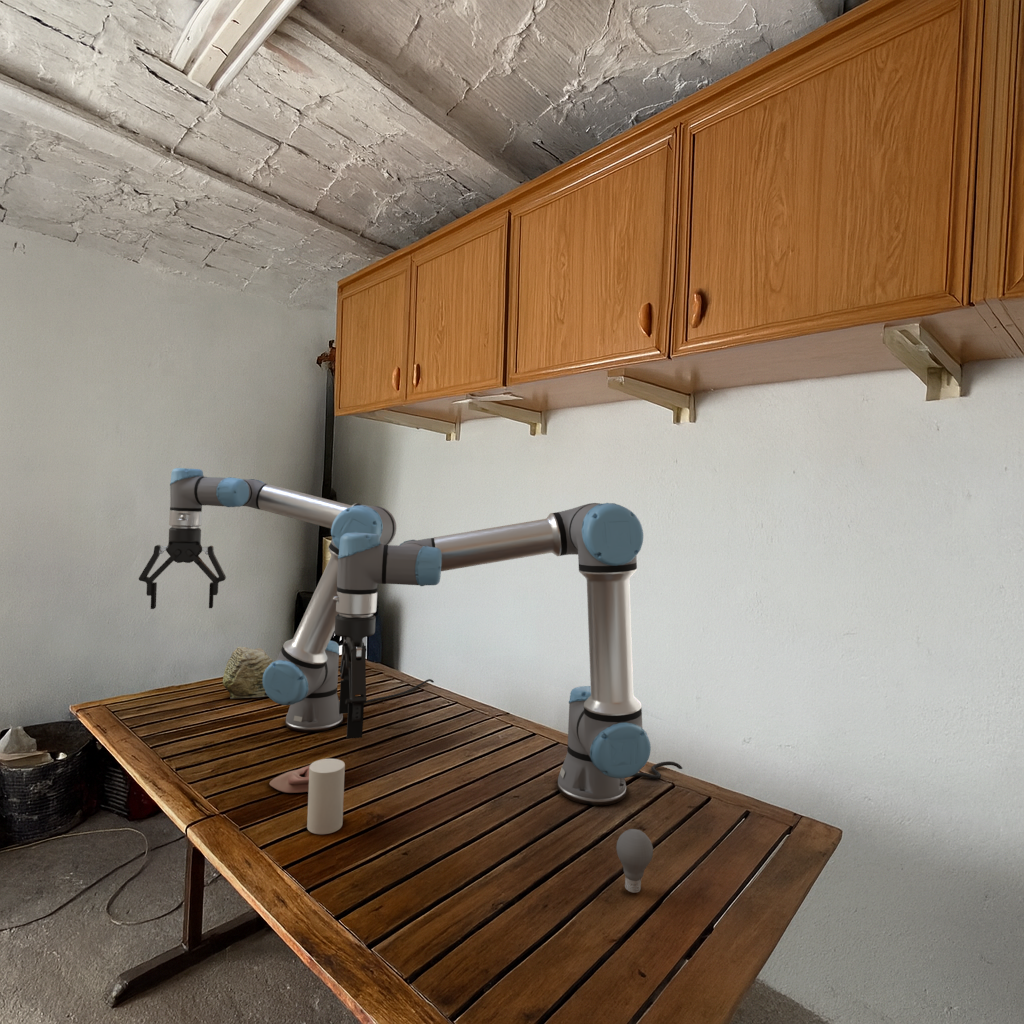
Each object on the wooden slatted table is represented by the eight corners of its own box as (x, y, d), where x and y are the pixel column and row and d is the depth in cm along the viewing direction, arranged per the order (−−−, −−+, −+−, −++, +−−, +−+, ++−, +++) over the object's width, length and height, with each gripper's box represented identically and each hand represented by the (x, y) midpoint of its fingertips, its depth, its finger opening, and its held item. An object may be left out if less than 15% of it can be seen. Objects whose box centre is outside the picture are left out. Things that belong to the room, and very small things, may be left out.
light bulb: (610, 879, 108) (613, 822, 108) (644, 879, 109) (647, 822, 109) (619, 902, 102) (622, 840, 102) (655, 901, 103) (658, 840, 103)
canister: (307, 836, 118) (309, 774, 118) (306, 819, 124) (309, 760, 124) (343, 832, 120) (346, 770, 120) (341, 815, 126) (343, 757, 126)
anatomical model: (261, 770, 135) (291, 750, 147) (261, 789, 136) (290, 767, 147) (318, 779, 133) (344, 757, 144) (318, 797, 133) (343, 775, 144)
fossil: (218, 695, 195) (220, 647, 195) (278, 685, 208) (279, 640, 207) (228, 703, 189) (230, 653, 188) (289, 692, 201) (290, 645, 201)
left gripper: (127, 526, 158) (124, 611, 159) (235, 529, 167) (232, 609, 167) (134, 525, 165) (131, 605, 166) (238, 527, 174) (235, 604, 174)
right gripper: (329, 602, 131) (324, 704, 131) (342, 627, 108) (336, 751, 108) (366, 602, 134) (361, 702, 134) (386, 627, 110) (380, 747, 111)
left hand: (182, 607), depth 166 cm, fingers open, 13 cm apart
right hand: (350, 724), depth 121 cm, fingers open, 13 cm apart
